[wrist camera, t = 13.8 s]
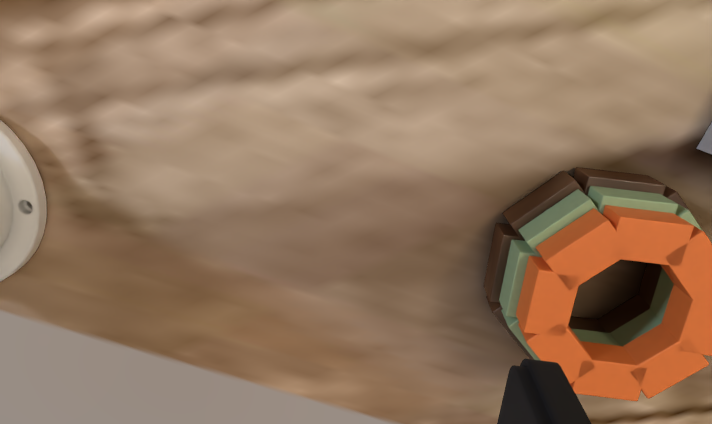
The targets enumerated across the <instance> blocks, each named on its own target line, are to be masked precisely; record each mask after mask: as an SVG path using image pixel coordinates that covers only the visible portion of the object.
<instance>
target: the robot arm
mask: <svg viewBox="0 0 712 424" xmlns="http://www.w3.org/2000/svg"><path fill="white" fill-rule="evenodd" d="M46 219H47V201H46V195H45V190H44V186H43V181H42V179H41V176H40V174H39V171H38V169H37V166H36V164H35V162H34V160H33V158H32V157H31V155H30V153H29V152H28V150H27V149H26V147H25V145H24V144H23V143H22V142H21V140H20V139H19V138H18V137H17V136H16V135H15V133H14V132H13V131H12V130H11V129H10V128H9V127H8V126H7V125H6V124H5V123H3V122H2V121H1V120H0V282H1V281H2V280H4V279H6V278H7V277H9V276H10V275H12V274H14V273H15V272H16V271H18V270H19V269H20V268H21V267H22V266H24V265H25V264H26V263H27V262H28V261H29V260H30V258H31V257H32V256H33V254H34V253H35V252H36V250H37V248H38V246H39V244H40V242H41V239H42V237H43V235H44V230H45V225H46ZM497 424H591V422H590V420H589V419H588V417H587V415H586V413H585V411H584V409H583V407H582V405H581V404H580V402H579V400H578V398H577V396H576V394H575V392H574V390H573V389H572V387H571V385H570V383H569V381H568V379H567V377H566V375H565V374H564V372H563V370H562V368H561V366H560V365H559V364H558V363H556V362H549V361H540V360H532V359H524V360H523V361H522V363H521V365H520V366H512V367H511V368H510V371H509V374H508V379H507V383H506V387H505V392H504V396H503V401H502V405H501V410H500V414H499V419H498V423H497Z"/></svg>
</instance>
